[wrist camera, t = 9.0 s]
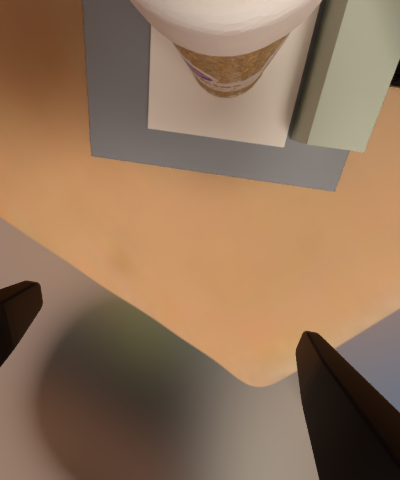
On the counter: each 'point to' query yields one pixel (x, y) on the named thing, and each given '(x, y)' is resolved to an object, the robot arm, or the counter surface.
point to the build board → (242, 96)
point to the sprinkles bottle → (226, 36)
